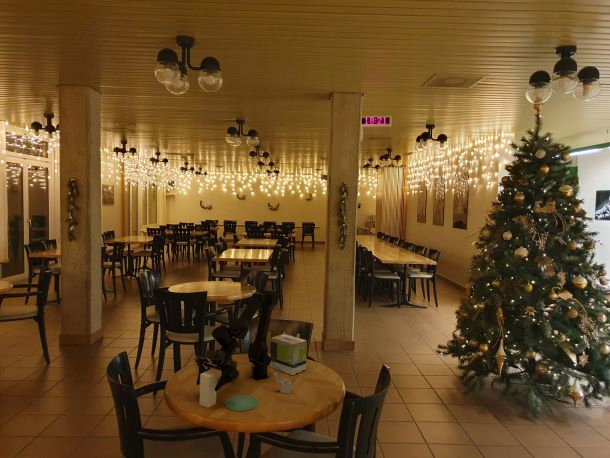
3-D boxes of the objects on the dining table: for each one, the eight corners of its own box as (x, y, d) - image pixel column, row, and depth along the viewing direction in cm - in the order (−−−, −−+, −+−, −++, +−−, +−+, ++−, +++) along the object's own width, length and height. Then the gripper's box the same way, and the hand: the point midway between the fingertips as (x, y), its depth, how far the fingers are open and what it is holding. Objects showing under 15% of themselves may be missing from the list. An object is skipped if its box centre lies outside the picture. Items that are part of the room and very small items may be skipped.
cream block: (207, 400, 170) (208, 370, 169) (216, 403, 167) (216, 373, 167) (199, 404, 166) (200, 374, 165) (208, 407, 163) (208, 376, 163)
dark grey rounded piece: (222, 384, 185) (223, 366, 185) (217, 378, 192) (218, 360, 192) (239, 381, 189) (239, 363, 188) (233, 375, 195) (234, 358, 195)
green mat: (250, 394, 177) (251, 393, 177) (263, 407, 166) (263, 406, 166) (220, 399, 170) (220, 398, 170) (231, 414, 159) (231, 413, 159)
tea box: (306, 370, 205) (307, 339, 204) (292, 376, 197) (293, 344, 197) (283, 362, 215) (284, 332, 214) (269, 367, 207) (270, 337, 206)
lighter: (290, 391, 181) (291, 372, 180) (290, 393, 179) (291, 374, 179) (273, 390, 181) (274, 371, 181) (273, 392, 179) (274, 373, 179)
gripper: (199, 336, 174) (177, 372, 165) (235, 345, 164) (214, 383, 155) (212, 351, 181) (192, 385, 172) (247, 360, 171) (228, 397, 162)
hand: (206, 387), depth 165 cm, fingers open, 9 cm apart
